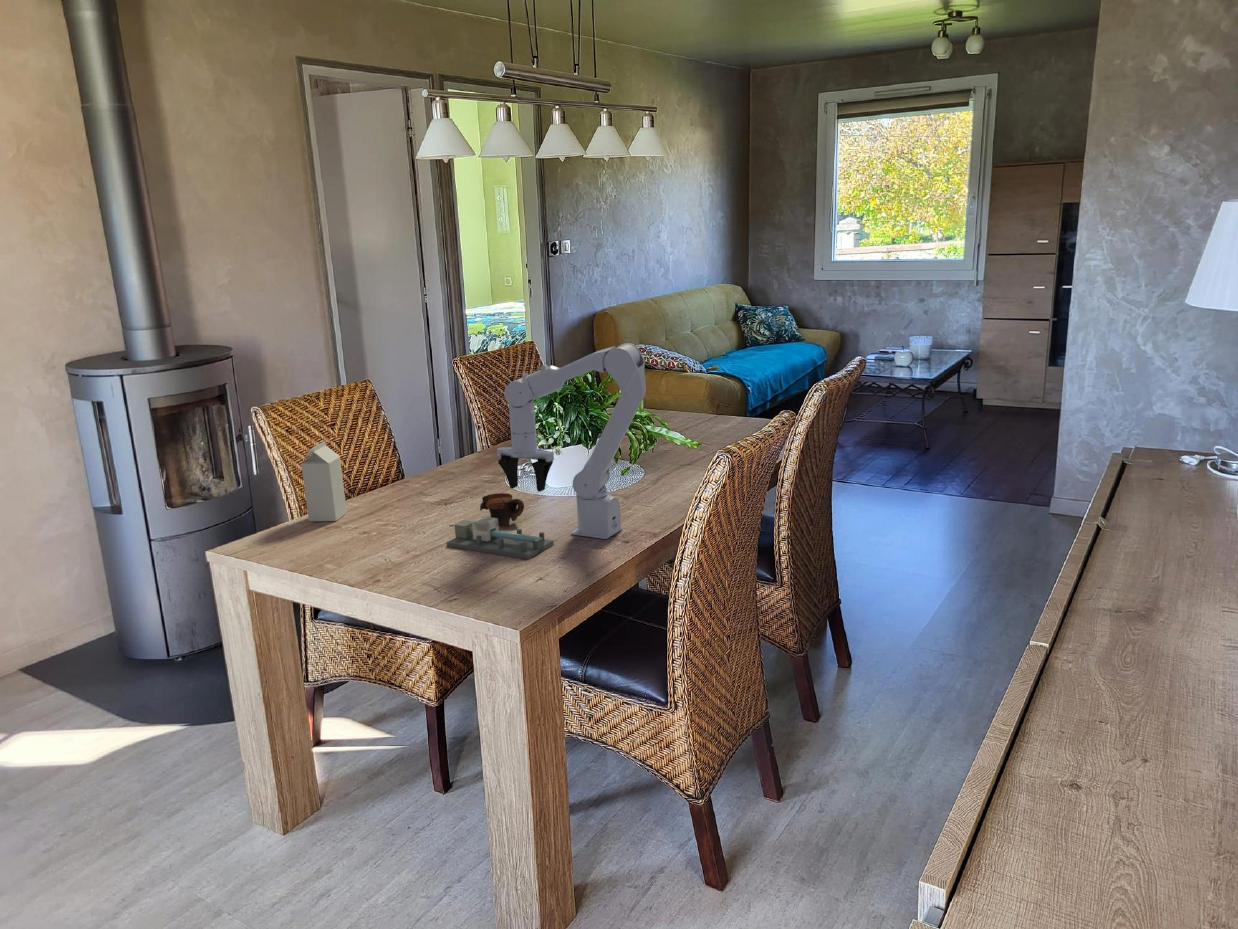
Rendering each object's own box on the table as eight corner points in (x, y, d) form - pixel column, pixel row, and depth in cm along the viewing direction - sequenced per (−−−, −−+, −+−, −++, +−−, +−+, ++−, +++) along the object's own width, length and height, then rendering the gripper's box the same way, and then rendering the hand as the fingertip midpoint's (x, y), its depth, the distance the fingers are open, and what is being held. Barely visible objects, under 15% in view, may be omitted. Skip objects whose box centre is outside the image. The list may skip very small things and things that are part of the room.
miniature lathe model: (553, 544, 203) (552, 527, 202) (528, 559, 195) (526, 541, 194) (474, 532, 214) (472, 516, 213) (447, 546, 205) (445, 528, 204)
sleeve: (499, 535, 207) (497, 518, 206) (487, 541, 203) (486, 523, 202) (485, 533, 209) (483, 516, 208) (473, 539, 205) (471, 521, 204)
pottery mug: (473, 530, 218) (471, 496, 220) (494, 535, 226) (491, 503, 229) (517, 520, 214) (514, 486, 216) (536, 526, 222) (533, 493, 224)
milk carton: (347, 513, 234) (338, 440, 229) (336, 521, 227) (326, 447, 222) (320, 513, 235) (311, 441, 230) (308, 522, 228) (298, 448, 223)
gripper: (487, 433, 209) (491, 490, 212) (540, 437, 202) (544, 496, 205) (505, 426, 215) (509, 482, 218) (557, 430, 208) (560, 488, 211)
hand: (527, 488), depth 212 cm, fingers open, 7 cm apart
